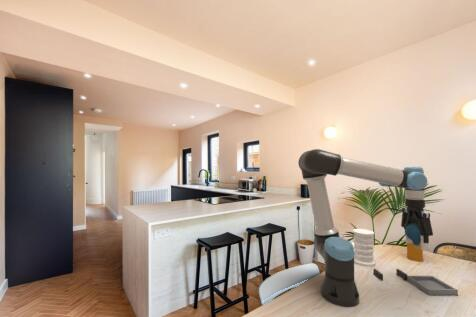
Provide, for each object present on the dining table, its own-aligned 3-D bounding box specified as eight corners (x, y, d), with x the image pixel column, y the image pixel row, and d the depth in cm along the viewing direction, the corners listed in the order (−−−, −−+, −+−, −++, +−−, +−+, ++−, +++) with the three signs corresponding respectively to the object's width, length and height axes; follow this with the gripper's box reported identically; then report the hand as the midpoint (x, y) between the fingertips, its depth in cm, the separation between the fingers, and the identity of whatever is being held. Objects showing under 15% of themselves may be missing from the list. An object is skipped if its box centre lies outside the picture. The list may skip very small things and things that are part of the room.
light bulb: (432, 252, 102) (431, 226, 103) (411, 251, 104) (410, 225, 104) (420, 246, 111) (420, 221, 111) (402, 245, 112) (401, 221, 112)
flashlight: (404, 216, 135) (402, 213, 144) (405, 259, 134) (403, 254, 143) (425, 218, 130) (422, 215, 138) (426, 263, 129) (423, 257, 138)
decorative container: (354, 264, 127) (354, 233, 128) (351, 257, 138) (350, 227, 139) (377, 268, 123) (377, 235, 124) (372, 259, 134) (372, 229, 135)
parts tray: (429, 295, 97) (428, 289, 97) (406, 280, 110) (406, 275, 110) (457, 295, 97) (457, 289, 97) (432, 280, 110) (432, 275, 110)
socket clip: (380, 280, 110) (380, 274, 110) (373, 274, 116) (373, 268, 116) (407, 280, 110) (407, 274, 110) (398, 274, 116) (398, 268, 116)
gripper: (442, 202, 98) (445, 254, 97) (405, 195, 119) (406, 238, 118) (426, 202, 97) (428, 255, 97) (391, 195, 118) (392, 239, 118)
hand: (416, 246), depth 107 cm, fingers closed on light bulb, 8 cm apart
